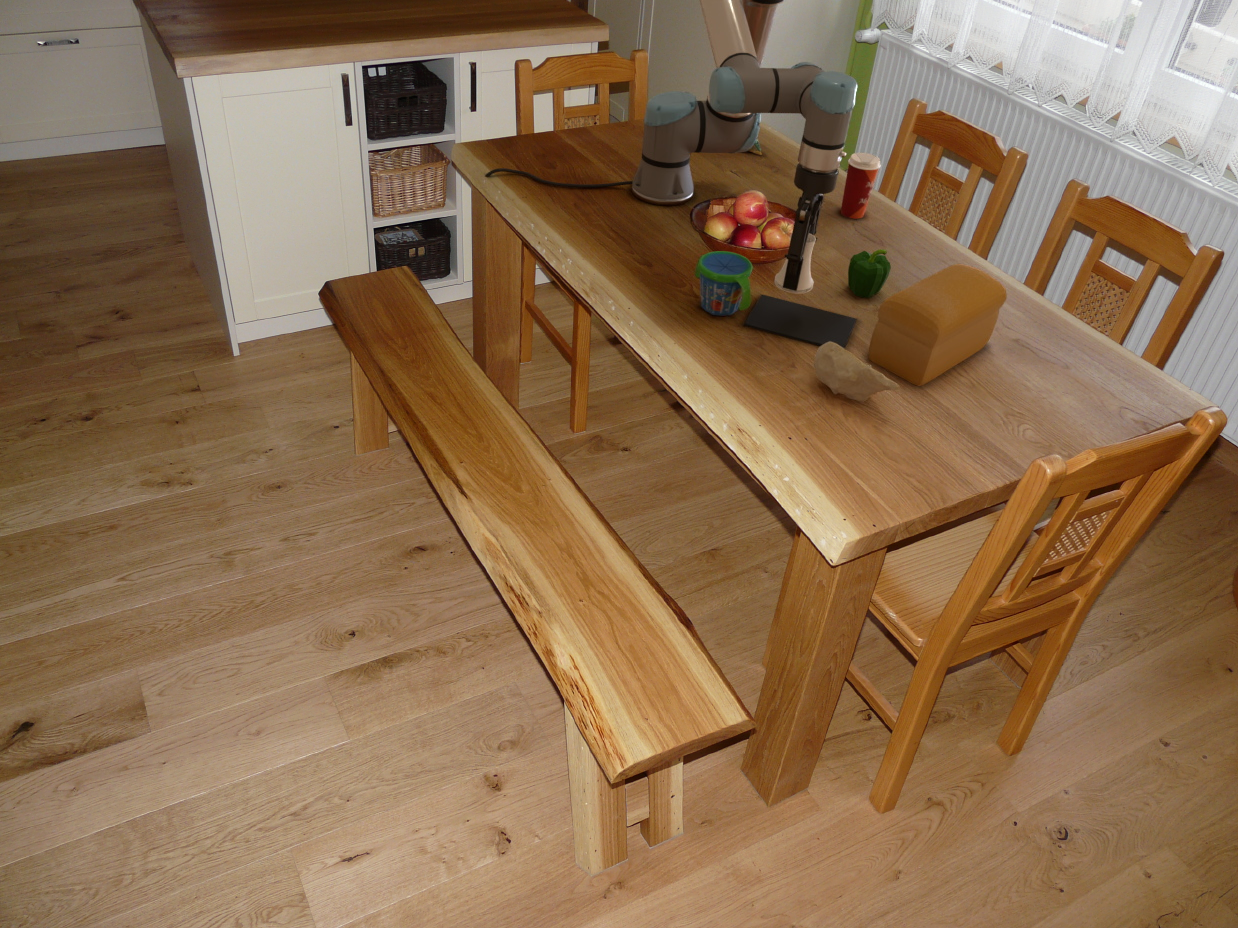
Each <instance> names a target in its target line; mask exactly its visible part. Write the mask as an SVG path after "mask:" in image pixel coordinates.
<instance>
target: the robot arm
mask: <svg viewBox="0 0 1238 928" xmlns="http://www.w3.org/2000/svg"><path fill="white" fill-rule="evenodd" d="M784 2H786V0H699V5H700V8H701V12H702V15H703V20H704V24H705V29H706V32H707V36H708V41H709V45H710V49H711V52H712V55H713V60H714V63H715V68H714V69H713V71H712V73H711V75H710V79H709V84H708V92H707V97H706V99H705V100H698V99H697V97H696V95H695V94H694V93H692V92H689V91H683V90H670V91H664V92H660V93H657V94H655V95H654V96H653V97H651V98H649V100H648V101H647V103H646V106H645V113H644V117H643V138H642V146H641V147H642V148H641V159H640V162H639V164H638V167H637V168H636V172H635V173H634V176H633V178H632V180H628V181H618V182H617V181H616V182H609V183H594V184H593V183H592V184H590V183H589V184H584V183H583V184H581V183H579V184H578V183H563V182H555V181H551V180H546V179H542V178H540V177H538V176H536V175H534V174H532V173H530V172H527V171H523V170H518V169H517V170H515V169H511V168H505V167H503V168H502V167H498V168H494V169H491V170H490V171H488V172H487V173H486V174H485V175H484V177H485V178H489V177H490V176H492V175H493V174H496V173H503V172H504V173H510V174H511V173H512V174H518V175H523V176H526V177H528V178H531V179H532V180H535V181H537V182H538V183H542V184H545V185H549V186H554V187H555V186H556V187H563V188H581V189H586V188H587V189H595V188H609V187H610V188H611V187H612V188H613V187H617V186H619V187H620V186H628V185H629V186H630V185H631V193H632V195H633V196H634V197H635V198H637V199H638V200H640V201H643V202H645V203H647V204H652V205H657V206H678V205H683V204H686V203H688V202H689V201H691V200H692V199H693V197H694V191H695V190H694V189H695V187H694V182H693V177H692V172H691V166H690V161H691V154H695V153H697V154H699V153H700V154H701V153H703V154H705V153H706V154H711V153H712V154H731V155H732V154H736V153H745V152H749V149H752V148H751V147H752V146H753V147H754V146H755V145H754V143H755V141H756V139H757V140H758V136H759V133H760V124H761V119H762V114H799V115H801V116H802V117H803V119H805V122H804V126H803V127H804V128H803V133H802V137H801V142H800V146H799V151H798V156H797V162H798V163H797V165H796V168H795V175H794V178H793V183H794V186H795V187H796V188H797V189H798V190H801V192H802V194H801V196H799V198H798V200H797V201H798V202H797V208H796V210H795V215H794V216H795V217H794V223H793V227H792V232H791V234H792V236H791V241H790V240H789V246H788V251H787V253H785V254H784V258H785V259H786V258H787V259H788V263H787V268H786V273H785V278H784V283H783V288H786V289H790V290H794V291H796V290H797V288H798V283H799V278H800V274H801V269H802V264H803V254H804V250H805V246H806V242H807V238H808V235H809V233H810V234H812V235H814V236H815V237H816V234H817V230H818V229H817V228H818V224H819V220H820V215H821V211H822V205H823V203H824V199H825V195H827V194H830V193H832V192H834V190H835V189H836V186H837V181H838V177H839V173H840V172H839V168H840V166H841V162H842V158H845V157H846V156H847V151H843V150H844V149H845V144H846V140H847V136H848V133H849V128H850V124H851V119H852V116H853V112H854V108H855V105H856V101H857V100H856V96H857V91H858V82H857V80H856V78H854V77H853V76H852V75H848V74H847V73H844V72H840V71H831V70H830V71H826V70H823V68H822V67H819V65H817V64H815V63H813V62H809V61H801V62H798V63H796V64H794V65H792V66H791V67H790V68H789V67H788V68H786V67H785V68H784V67H782V68H781V67H779V68H777V67H762V63H763V60H764V57H765V53H766V50H767V47H768V42H769V39H770V35H771V32H772V28H773V25H774V21H775V17H776V14H777V10H778V7H779V5H780V4H782V3H784ZM817 241H818V237H816V241H815V244H817Z"/></svg>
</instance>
